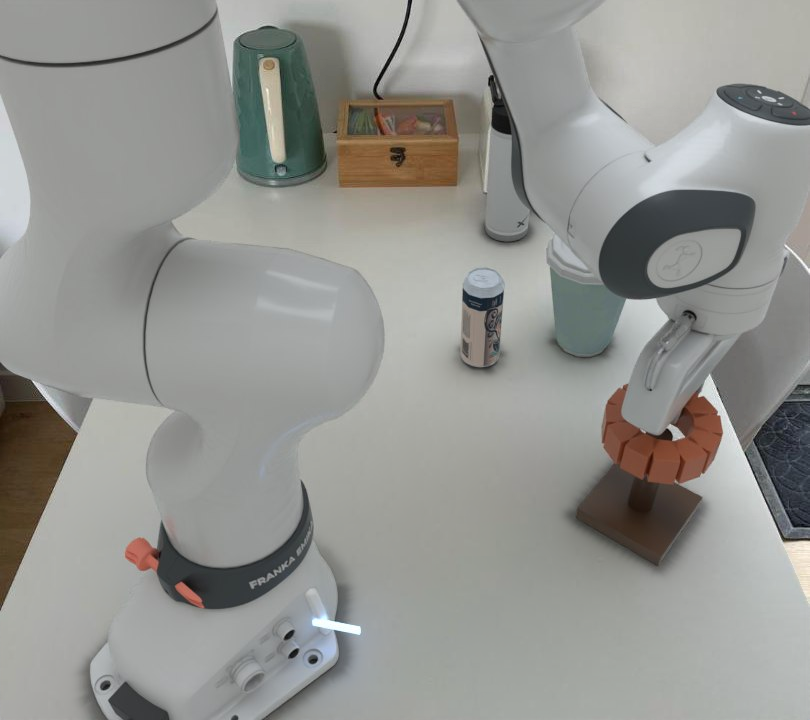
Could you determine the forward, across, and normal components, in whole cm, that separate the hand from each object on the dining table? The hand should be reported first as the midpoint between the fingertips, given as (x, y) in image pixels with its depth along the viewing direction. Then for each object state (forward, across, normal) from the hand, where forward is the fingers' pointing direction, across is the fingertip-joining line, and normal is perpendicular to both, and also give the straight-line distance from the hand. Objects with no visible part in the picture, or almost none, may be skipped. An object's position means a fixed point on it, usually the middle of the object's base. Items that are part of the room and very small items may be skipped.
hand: (679, 405), depth 75 cm
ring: (+2, -4, 0) cm, 4 cm away
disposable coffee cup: (+12, +15, +18) cm, 27 cm away
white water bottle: (+12, +30, +39) cm, 51 cm away
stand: (+12, -4, 0) cm, 13 cm away
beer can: (+12, +5, +26) cm, 29 cm away
